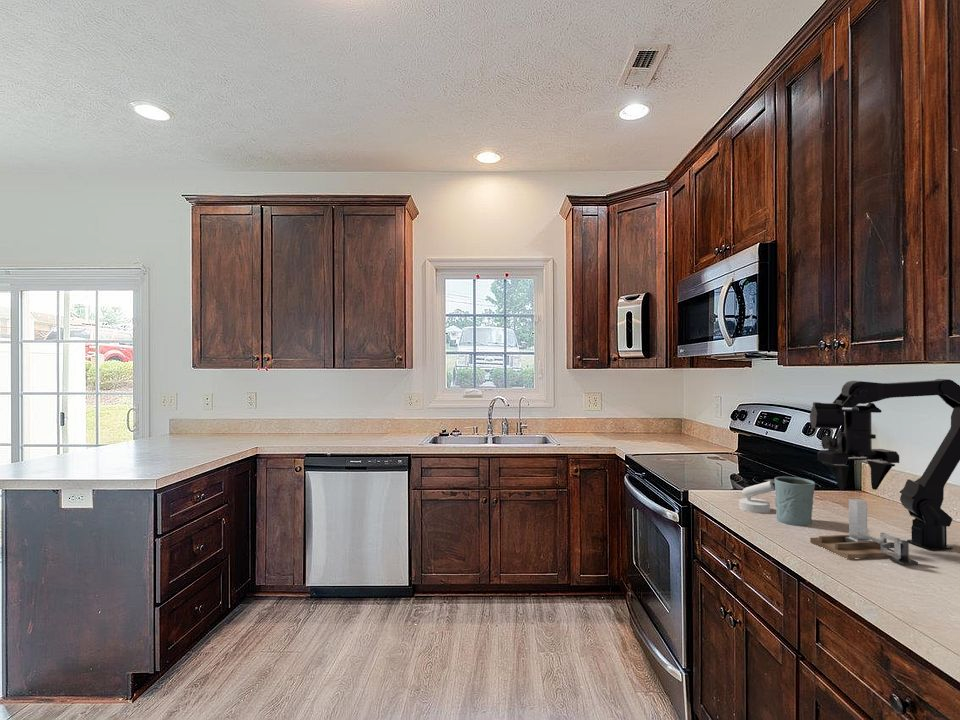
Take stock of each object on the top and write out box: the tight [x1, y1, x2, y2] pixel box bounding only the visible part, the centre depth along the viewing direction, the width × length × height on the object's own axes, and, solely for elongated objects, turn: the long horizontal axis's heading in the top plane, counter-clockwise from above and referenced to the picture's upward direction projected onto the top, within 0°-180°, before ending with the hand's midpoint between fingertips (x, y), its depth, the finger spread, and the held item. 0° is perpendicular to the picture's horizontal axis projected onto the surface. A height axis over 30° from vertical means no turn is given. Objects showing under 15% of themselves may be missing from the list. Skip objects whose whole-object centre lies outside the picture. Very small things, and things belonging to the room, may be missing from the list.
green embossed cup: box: [774, 476, 816, 527], centre depth 154 cm, size 10×10×12 cm
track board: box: [809, 534, 894, 560], centre depth 131 cm, size 13×12×3 cm
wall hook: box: [738, 480, 776, 514], centre depth 166 cm, size 9×10×10 cm
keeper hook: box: [882, 539, 919, 567], centre depth 122 cm, size 7×4×5 cm, turn 96°
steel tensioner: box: [845, 498, 901, 559], centre depth 126 cm, size 4×13×10 cm, turn 6°
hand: (858, 489), depth 138 cm, fingers open, 9 cm apart
